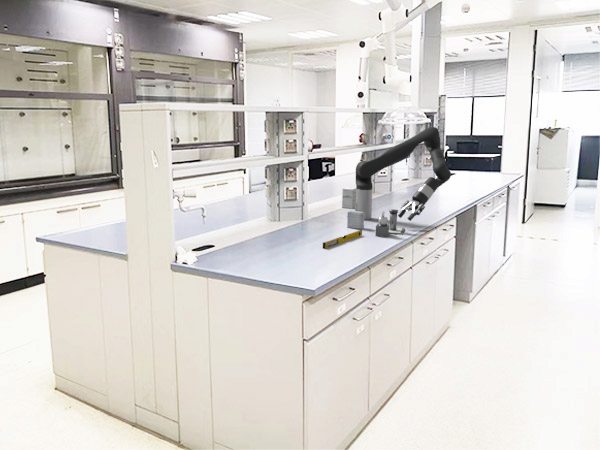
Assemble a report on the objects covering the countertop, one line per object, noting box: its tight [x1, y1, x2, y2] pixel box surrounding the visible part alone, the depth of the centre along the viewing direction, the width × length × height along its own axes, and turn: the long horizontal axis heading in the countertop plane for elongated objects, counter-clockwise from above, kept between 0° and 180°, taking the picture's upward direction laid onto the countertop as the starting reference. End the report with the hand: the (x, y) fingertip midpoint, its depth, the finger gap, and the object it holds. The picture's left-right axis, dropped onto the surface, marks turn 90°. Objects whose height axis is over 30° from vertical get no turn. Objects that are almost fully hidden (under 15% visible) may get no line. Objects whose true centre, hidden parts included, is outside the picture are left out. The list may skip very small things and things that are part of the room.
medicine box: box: [346, 210, 365, 230], centre depth 281 cm, size 8×4×9 cm, turn 59°
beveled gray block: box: [374, 211, 390, 238], centre depth 263 cm, size 6×6×12 cm
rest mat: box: [389, 226, 406, 235], centre depth 274 cm, size 11×14×1 cm
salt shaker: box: [389, 208, 399, 231], centre depth 273 cm, size 4×4×10 cm
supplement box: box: [341, 187, 356, 209], centre depth 343 cm, size 7×7×13 cm
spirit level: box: [322, 229, 363, 249], centre depth 250 cm, size 33×1×3 cm, turn 144°
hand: (403, 218), depth 275 cm, fingers open, 8 cm apart
